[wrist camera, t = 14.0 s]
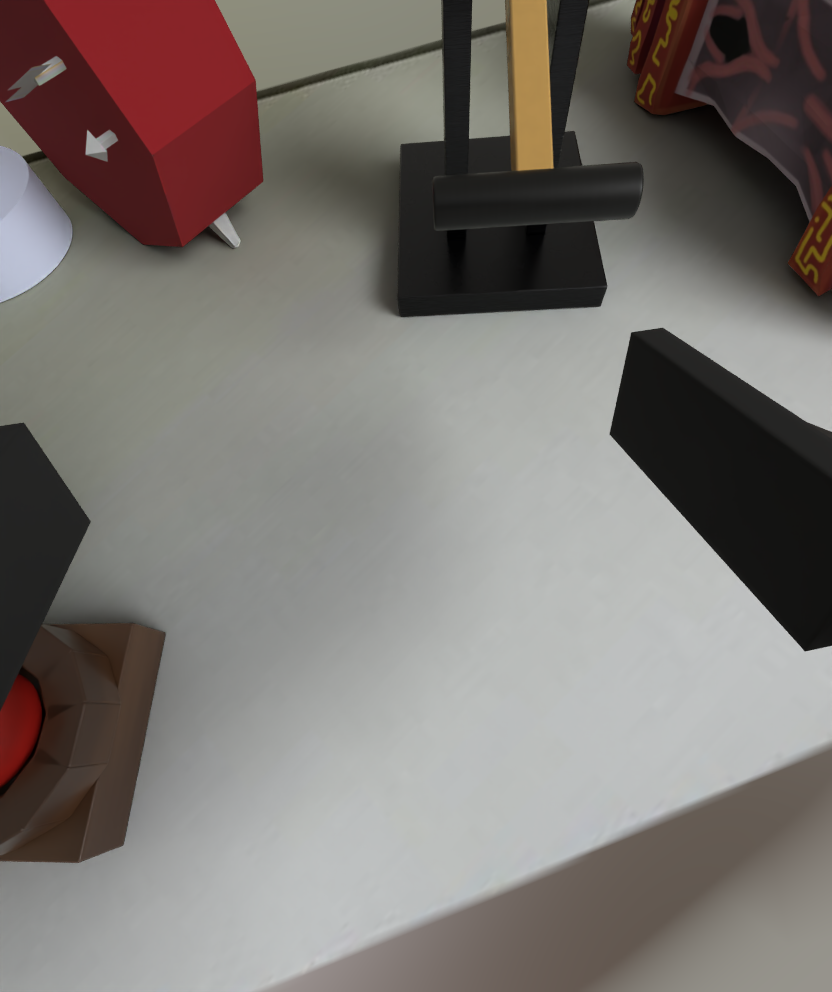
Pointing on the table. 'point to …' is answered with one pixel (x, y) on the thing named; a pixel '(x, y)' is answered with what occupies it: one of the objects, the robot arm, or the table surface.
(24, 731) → the light button
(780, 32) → the red patterned flared cylinder
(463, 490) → the table surface
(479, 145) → the switch bracket
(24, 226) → the tape dispenser
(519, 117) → the light lever
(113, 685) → the switch block
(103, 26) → the alarm clock
